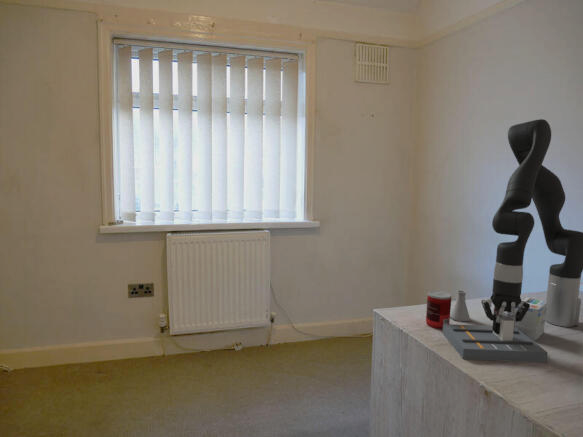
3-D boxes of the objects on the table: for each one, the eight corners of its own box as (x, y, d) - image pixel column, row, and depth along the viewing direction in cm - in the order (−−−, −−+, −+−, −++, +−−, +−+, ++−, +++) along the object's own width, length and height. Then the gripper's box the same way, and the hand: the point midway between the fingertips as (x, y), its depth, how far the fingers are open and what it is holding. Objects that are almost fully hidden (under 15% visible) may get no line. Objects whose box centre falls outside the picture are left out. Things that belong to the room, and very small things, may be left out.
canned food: (448, 322, 141) (451, 291, 139) (449, 330, 133) (452, 298, 132) (425, 319, 143) (427, 289, 142) (425, 327, 136) (427, 295, 134)
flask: (466, 315, 148) (468, 289, 147) (473, 322, 141) (475, 295, 140) (446, 314, 149) (448, 288, 147) (452, 321, 141) (454, 294, 140)
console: (514, 335, 130) (515, 325, 130) (546, 362, 112) (547, 350, 112) (442, 332, 131) (443, 322, 131) (462, 358, 114) (463, 346, 113)
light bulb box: (522, 326, 138) (525, 296, 137) (544, 333, 133) (548, 301, 132) (511, 335, 131) (515, 303, 129) (535, 342, 126) (538, 309, 125)
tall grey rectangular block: (502, 333, 124) (504, 312, 123) (512, 341, 118) (515, 319, 117) (492, 332, 124) (494, 311, 124) (501, 341, 118) (503, 319, 117)
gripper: (525, 275, 122) (520, 329, 125) (478, 273, 123) (473, 327, 125) (539, 282, 115) (533, 339, 117) (489, 280, 116) (484, 337, 118)
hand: (502, 333), depth 121 cm, fingers closed on tall grey rectangular block, 3 cm apart
